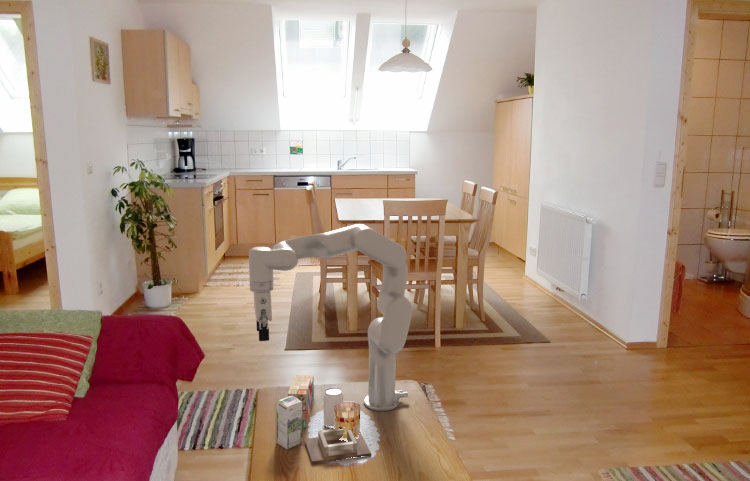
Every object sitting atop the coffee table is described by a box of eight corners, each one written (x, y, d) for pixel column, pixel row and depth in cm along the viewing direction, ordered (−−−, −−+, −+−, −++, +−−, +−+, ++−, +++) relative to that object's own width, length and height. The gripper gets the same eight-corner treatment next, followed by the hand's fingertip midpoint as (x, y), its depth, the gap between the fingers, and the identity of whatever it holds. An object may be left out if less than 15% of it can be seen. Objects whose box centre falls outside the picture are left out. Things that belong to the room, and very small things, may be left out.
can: (347, 424, 193) (347, 391, 191) (332, 431, 189) (333, 397, 187) (333, 418, 198) (334, 385, 196) (319, 424, 193) (319, 390, 191)
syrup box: (291, 436, 185) (290, 394, 182) (302, 444, 181) (302, 400, 178) (276, 443, 181) (275, 399, 179) (287, 450, 177) (287, 406, 174)
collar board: (360, 434, 187) (360, 423, 186) (371, 456, 175) (371, 443, 174) (304, 441, 182) (304, 430, 182) (312, 464, 170) (311, 451, 169)
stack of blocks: (297, 398, 212) (296, 366, 210) (314, 399, 212) (314, 367, 210) (287, 428, 191) (287, 393, 189) (306, 428, 191) (306, 393, 189)
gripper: (276, 291, 181) (277, 343, 184) (270, 278, 197) (271, 326, 200) (251, 293, 179) (252, 345, 182) (248, 279, 195) (249, 327, 198)
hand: (262, 335), depth 191 cm, fingers open, 9 cm apart
